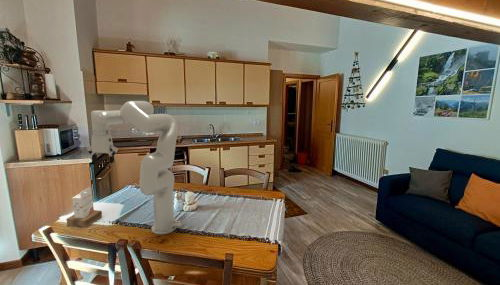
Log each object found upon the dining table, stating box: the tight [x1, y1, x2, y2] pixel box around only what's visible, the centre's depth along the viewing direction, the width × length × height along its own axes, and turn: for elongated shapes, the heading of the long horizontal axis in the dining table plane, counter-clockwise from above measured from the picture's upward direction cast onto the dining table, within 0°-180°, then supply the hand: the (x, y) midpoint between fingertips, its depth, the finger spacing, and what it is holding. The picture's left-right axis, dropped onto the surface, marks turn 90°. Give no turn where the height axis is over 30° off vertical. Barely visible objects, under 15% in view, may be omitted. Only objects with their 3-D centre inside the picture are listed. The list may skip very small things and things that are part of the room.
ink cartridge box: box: [71, 186, 95, 218], centre depth 125 cm, size 9×5×15 cm, turn 1°
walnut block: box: [66, 209, 103, 229], centre depth 127 cm, size 11×11×4 cm
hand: (103, 162), depth 133 cm, fingers open, 9 cm apart
